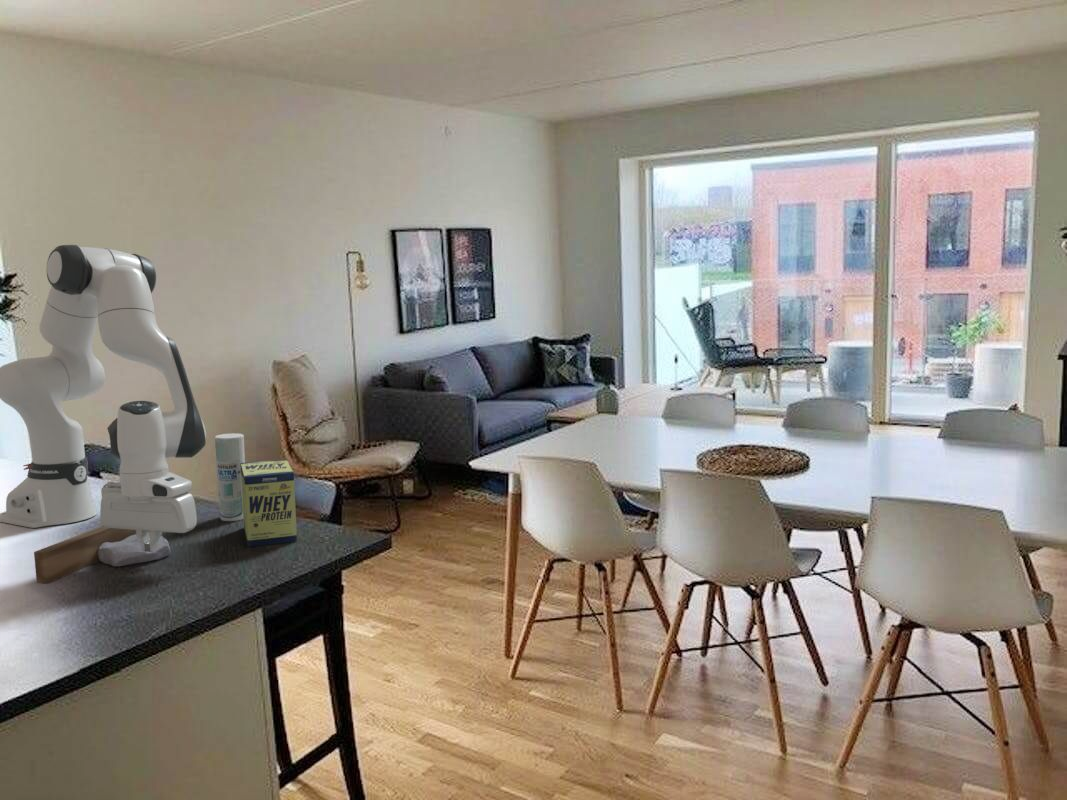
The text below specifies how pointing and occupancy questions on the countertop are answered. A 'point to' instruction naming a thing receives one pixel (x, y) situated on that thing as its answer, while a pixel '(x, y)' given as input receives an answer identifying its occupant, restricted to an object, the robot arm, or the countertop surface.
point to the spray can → (230, 475)
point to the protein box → (268, 502)
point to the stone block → (131, 551)
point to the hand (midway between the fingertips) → (150, 550)
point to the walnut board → (74, 553)
